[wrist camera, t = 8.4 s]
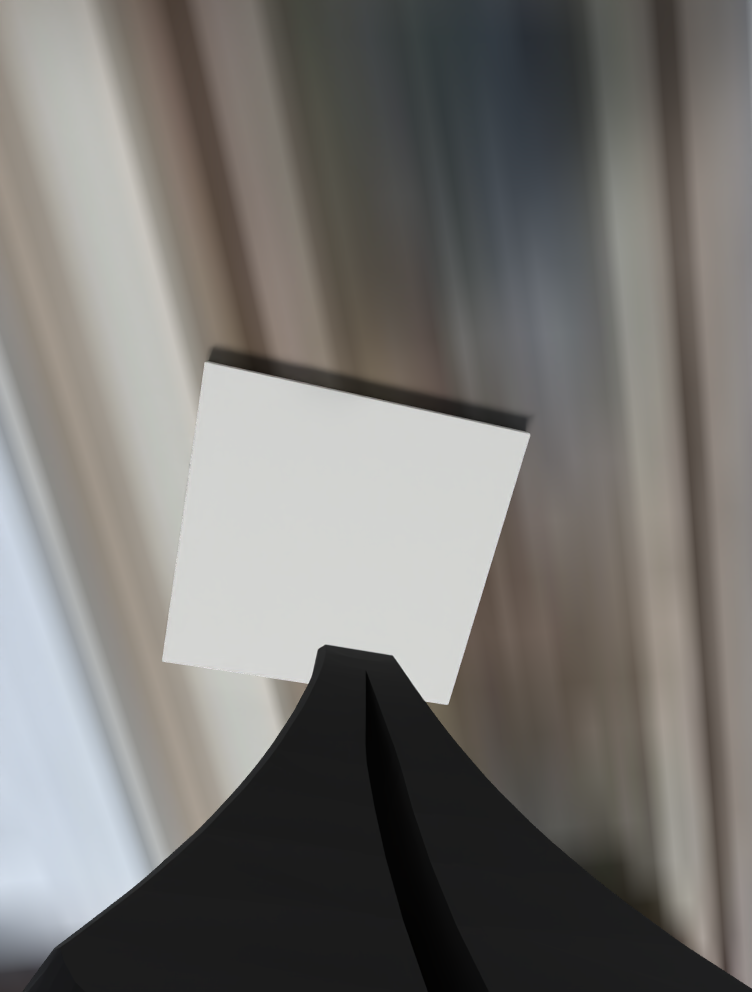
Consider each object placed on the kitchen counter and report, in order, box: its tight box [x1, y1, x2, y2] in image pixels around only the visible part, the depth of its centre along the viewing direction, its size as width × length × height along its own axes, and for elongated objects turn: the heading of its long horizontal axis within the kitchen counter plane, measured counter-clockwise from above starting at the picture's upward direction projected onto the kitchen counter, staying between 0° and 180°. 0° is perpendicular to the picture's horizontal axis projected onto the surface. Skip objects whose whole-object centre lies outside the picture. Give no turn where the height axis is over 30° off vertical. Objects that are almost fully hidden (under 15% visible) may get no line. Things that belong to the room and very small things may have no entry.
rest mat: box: [162, 361, 530, 705], centre depth 17 cm, size 9×9×1 cm
